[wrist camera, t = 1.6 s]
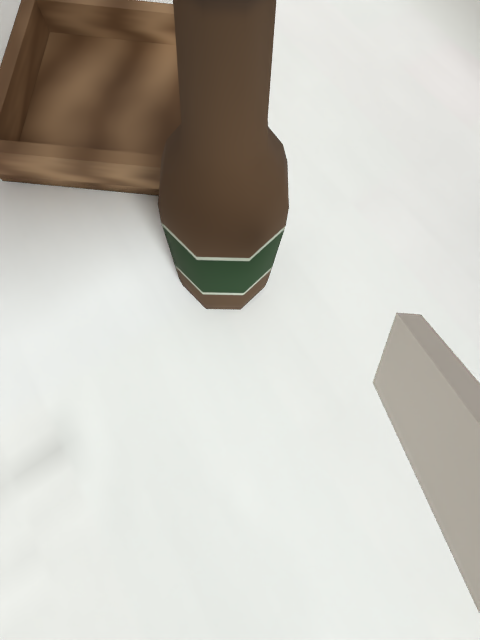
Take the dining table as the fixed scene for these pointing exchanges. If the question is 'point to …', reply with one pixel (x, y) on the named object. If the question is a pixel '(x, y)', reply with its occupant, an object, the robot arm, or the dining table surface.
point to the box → (89, 94)
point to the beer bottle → (224, 153)
